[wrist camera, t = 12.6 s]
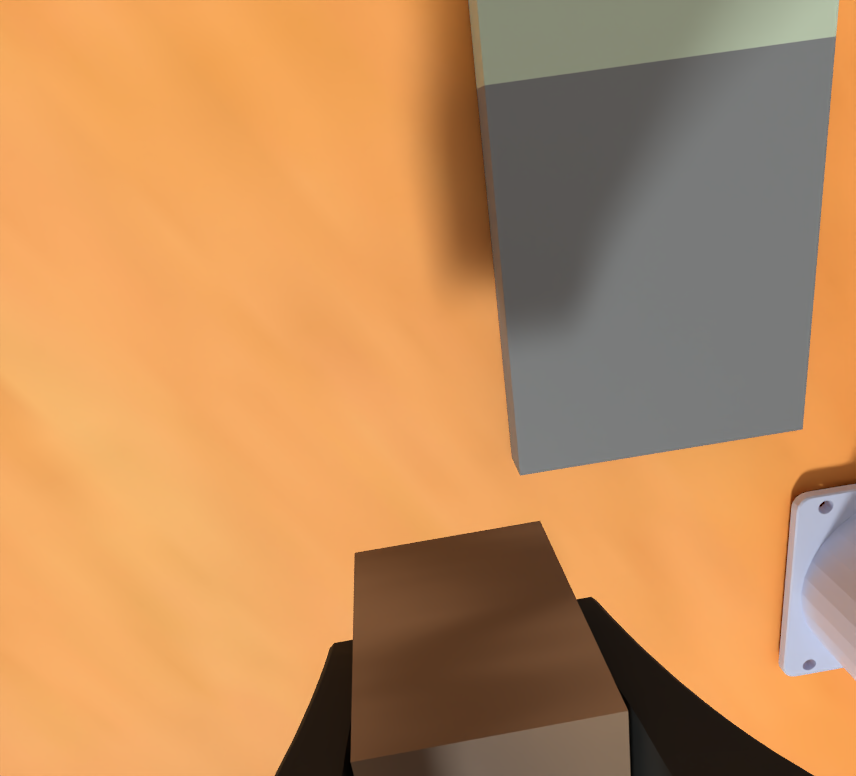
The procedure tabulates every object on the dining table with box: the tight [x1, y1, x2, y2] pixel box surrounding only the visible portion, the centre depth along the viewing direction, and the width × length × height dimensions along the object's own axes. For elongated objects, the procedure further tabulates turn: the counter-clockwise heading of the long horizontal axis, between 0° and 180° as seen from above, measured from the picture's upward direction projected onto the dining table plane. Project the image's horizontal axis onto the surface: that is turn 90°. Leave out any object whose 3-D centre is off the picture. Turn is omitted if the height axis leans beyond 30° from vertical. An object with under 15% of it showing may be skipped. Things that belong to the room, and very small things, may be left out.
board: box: [468, 0, 839, 475], centre depth 17 cm, size 9×22×1 cm, turn 8°
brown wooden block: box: [350, 521, 631, 776], centre depth 12 cm, size 4×4×5 cm
